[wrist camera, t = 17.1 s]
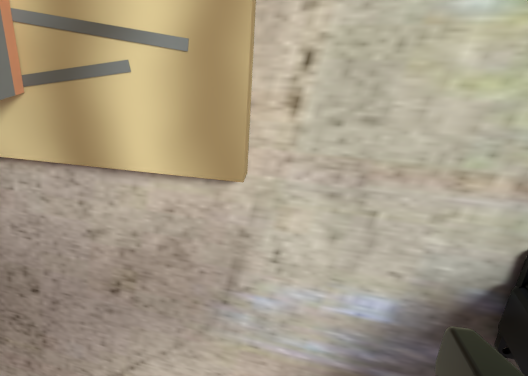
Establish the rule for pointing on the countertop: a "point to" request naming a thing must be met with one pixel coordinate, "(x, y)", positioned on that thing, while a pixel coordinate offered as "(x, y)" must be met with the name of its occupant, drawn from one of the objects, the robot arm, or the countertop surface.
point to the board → (133, 85)
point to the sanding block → (8, 55)
